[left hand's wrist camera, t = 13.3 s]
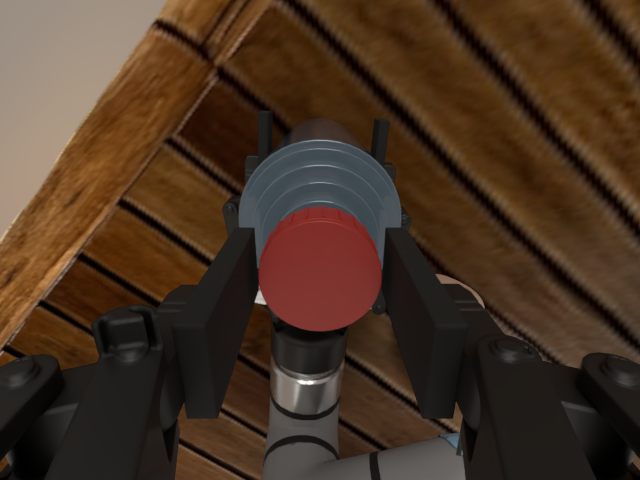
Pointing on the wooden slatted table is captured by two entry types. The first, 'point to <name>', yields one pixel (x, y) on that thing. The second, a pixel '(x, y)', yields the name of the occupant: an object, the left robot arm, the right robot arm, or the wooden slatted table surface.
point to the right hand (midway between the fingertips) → (323, 116)
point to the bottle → (320, 182)
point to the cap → (320, 269)
